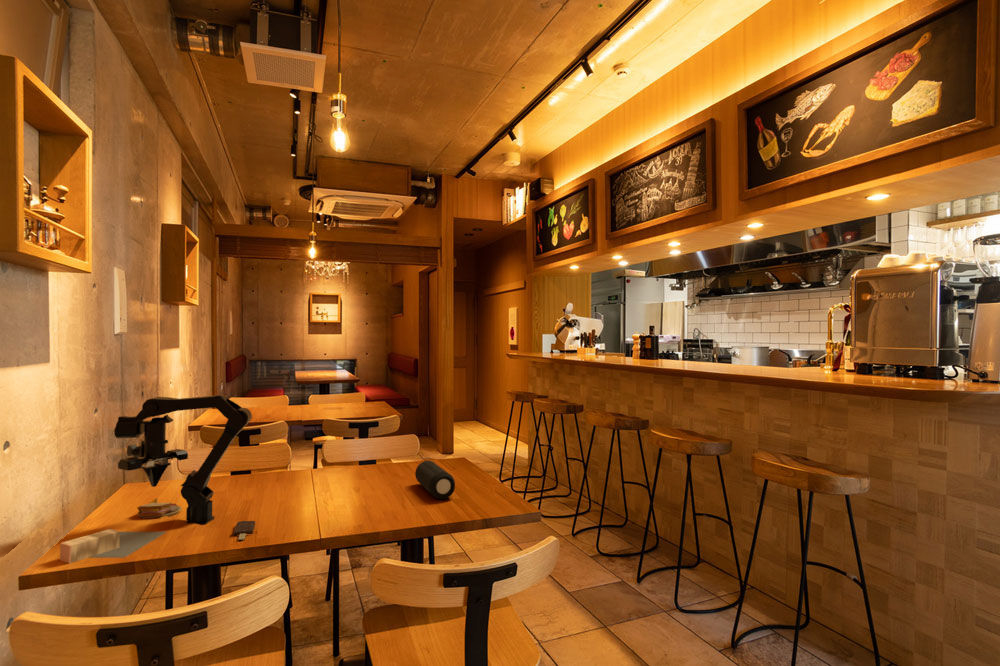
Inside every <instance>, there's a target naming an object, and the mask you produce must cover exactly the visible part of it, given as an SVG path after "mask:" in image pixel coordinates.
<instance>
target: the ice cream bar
mask: <svg viewBox="0 0 1000 666" xmlns="http://www.w3.org/2000/svg"><path fill="white" fill-rule="evenodd" d="M254 526H256V520H239V521H237V522H236V524H235V527H234V530H233V533H232V534H233V535H232V536H235V537H238V538H237V539H238V540H237V541H239V540H242V541H244V539H245V540H246V537H247V535H246V534H254V531H253V530H255V527H254ZM237 535H239V536H237ZM245 536H246V537H245Z"/></svg>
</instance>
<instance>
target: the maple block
mask: <svg viewBox="0 0 1000 666" xmlns="http://www.w3.org/2000/svg"><path fill="white" fill-rule="evenodd" d="M120 532H121V531H120V530H117V529H112V528H108V529H105V530H101V531H98V532H95V533H91V534H87V535H84V536H81V537H76V538H74V539H70V540H66V541H62V542H60V543H59V560H60V561H61V562H64V563H67V564H72V563H75V562H78V561H83V560H85V559H88V557H92V556H95V555H98V554H101V553H104V552H107V551H111V550H114V549H117V548H119V535H120Z"/></svg>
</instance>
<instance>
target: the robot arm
mask: <svg viewBox="0 0 1000 666" xmlns="http://www.w3.org/2000/svg"><path fill="white" fill-rule="evenodd" d="M141 408H142V409H141V410H140V411H139V412H138V414H137V415H136V416H127V415H120V416H118V418H117V422H116V424H115V427H114V431H113V432H114V433H113V434H114V437H115V438H116V439H131V438H132V439H134V438H135V439H136V438H138V439H139V438H140V436H141V435H144V436H143V440H141V442H140V446H137V445H136V444H131V445H128V446H126V454H127V457H126V458H121V459H119V461H118V462H117V469H120V470H124V471H133V470H139V469H142V470H143V471H144V472H145V474H146V476H147V477H148V480H149V483H150V486H151V487H153V488H155V487H157V486H158V483H159V481H161V478H162V476H163V474H164V473H165V471H166V470H167V468H168V466H171V464H172V463H171V462H169V460H173V459H176V460H177V461H183V460H188V459H189V453H188V451H187V450H186V449H180V448H175V449H171V450H167V451H166V444H168V443H169V439H166V434H167V433H166V427H167V426H166V424H170V423H172V422H174V419H173V418H171V417H170V416H169V414H170V413H174V412H177V411H178V412H179V411H190V410H198V409H199V410H200V409H211V408H215V409H217V411H218V412H219V413H220V414H221V415H222V416H224V417H225V418H226V419H227V421H226V424H225V427H224V428H223V432H222V434H221V435H220V437H219V438H218V440H217V441H216V443H215V444H214V446H213V447H212V449H211V451H210V452H209V453H208V455H207V457H206V458H205V460H204V461H203V463H202V464H201V466H200V467H199V468H198V470H197V471H196V470H195V469H193V470H192V471H191V472H190V473H188V475H187V476H186V479H185V481H184V482H183V483H181V484H180V487H181V488H180V495H181V497H182V498H183V499H184V500H185V501H186V504H187V507H186V510H185V511H186V515H185V516H186V517H185V518H186V520H185V522H184V524H195V525H206V524H208V523H210V522H211V521H212V520H214V519H215V518H216V516H215V515H214V516H213V500H211V499H212V498H213V495H214V493H215V492H214V490H212V489H211V488H210V487H209V486H208V485H209V482H210V480H211V477H212V473H213V472H214V470H215V469H216V467H217V466H218V464H219V462H220V461H221V459H222V458H223V456H224V455H225V453H226V452H227V451H228V448H229V447H230V445H231V444H232V442H233V441H234V439H235V438H236V437H237V435H238V434H239V433H240V432H242V430H243V429H244V428H245V427H246V426H248V424H249V423H250V421H251V420H252V417H253V415H252V412H251V410H250V409H249V408H247V407H242V406H240V405H239V404H238V403H237V402H235V401H233V400H231V399H229V398H228V397H227V395H225V394H221V393H220V394H218V395H207V396H206V395H205V396H196V397H195V396H194V397H185V398H183V397H182V398H176V397H168V396H155V397H152V398H149V399H147V400H145V401H144V402H143V404H142V406H141ZM161 415H164V416H163V417H159V416H161ZM149 418H151V419H150V420H148V419H149Z"/></svg>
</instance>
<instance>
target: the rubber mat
mask: <svg viewBox="0 0 1000 666" xmlns="http://www.w3.org/2000/svg"><path fill="white" fill-rule="evenodd" d="M119 532H120V535H119V548H117V549H114V550H111V551H107V552H104V553H101V554H98V555H95V556H92V557H88V558H92V559H93V558H94V559H98V558H101V559H102V558H105V559H106V558H111V559H112V558H119V559H120V558H123V559H124V558H126V557H128V556H130V555H132V554H134V553H135V552H137V551H138V550H140V549H142V548H143V547H144V546H147V545H148V544H149V543H151V542H153V541H155V540H156V539H158V538H159V537H162V536H163V535H165V534H166V533H167V531H119ZM88 558H87V559H88Z"/></svg>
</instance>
